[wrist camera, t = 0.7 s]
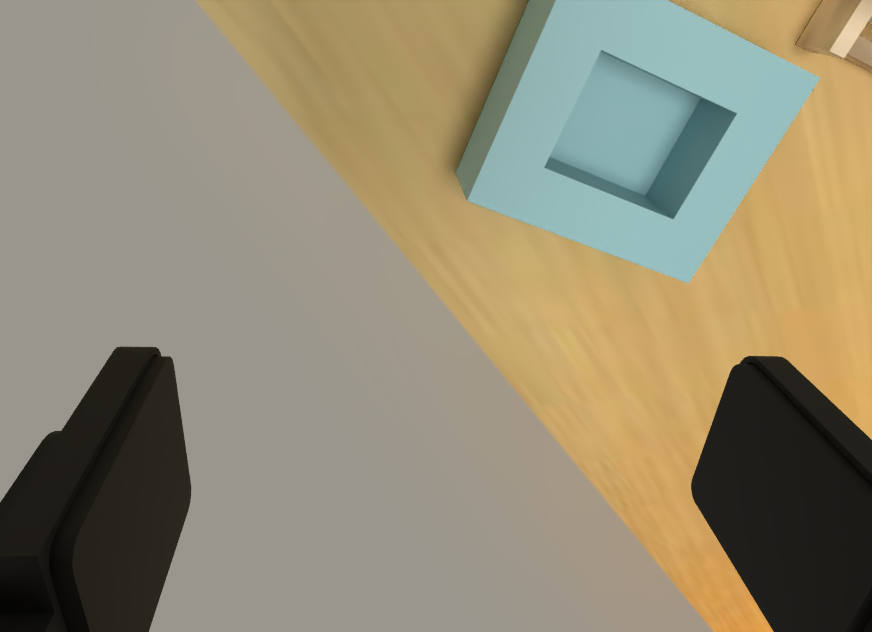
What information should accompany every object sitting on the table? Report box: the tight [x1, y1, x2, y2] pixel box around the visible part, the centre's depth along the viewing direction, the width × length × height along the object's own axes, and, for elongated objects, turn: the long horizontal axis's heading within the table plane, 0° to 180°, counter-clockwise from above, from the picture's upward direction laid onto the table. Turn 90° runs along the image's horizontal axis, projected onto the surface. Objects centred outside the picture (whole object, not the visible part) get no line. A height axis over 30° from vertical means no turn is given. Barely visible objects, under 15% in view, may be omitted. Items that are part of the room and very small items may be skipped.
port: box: [456, 0, 820, 283], centre depth 34 cm, size 12×14×5 cm
